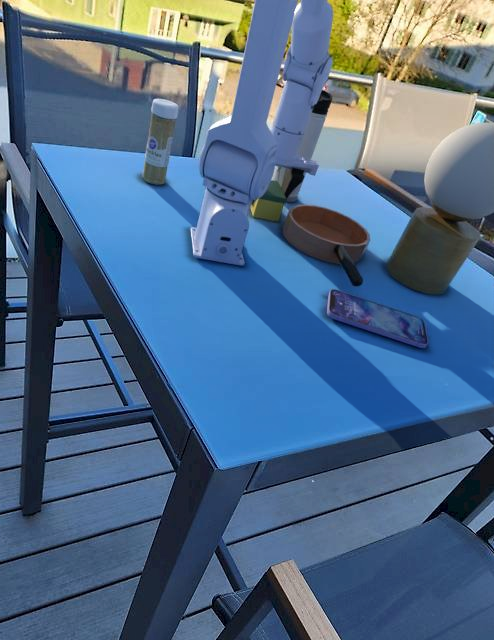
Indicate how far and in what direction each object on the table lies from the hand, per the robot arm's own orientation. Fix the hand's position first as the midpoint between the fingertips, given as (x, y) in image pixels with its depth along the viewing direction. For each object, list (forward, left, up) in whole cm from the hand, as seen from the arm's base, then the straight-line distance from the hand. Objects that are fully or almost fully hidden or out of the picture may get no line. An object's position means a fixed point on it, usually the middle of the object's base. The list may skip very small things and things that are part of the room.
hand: (264, 204), depth 93 cm
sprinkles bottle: (+4, +21, -1) cm, 21 cm away
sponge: (0, 0, -1) cm, 1 cm away
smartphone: (-33, -12, -1) cm, 35 cm away
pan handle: (-21, -10, +1) cm, 24 cm away
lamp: (-15, -27, -1) cm, 31 cm away
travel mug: (+10, -6, -1) cm, 12 cm away
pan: (-9, -10, -1) cm, 14 cm away
